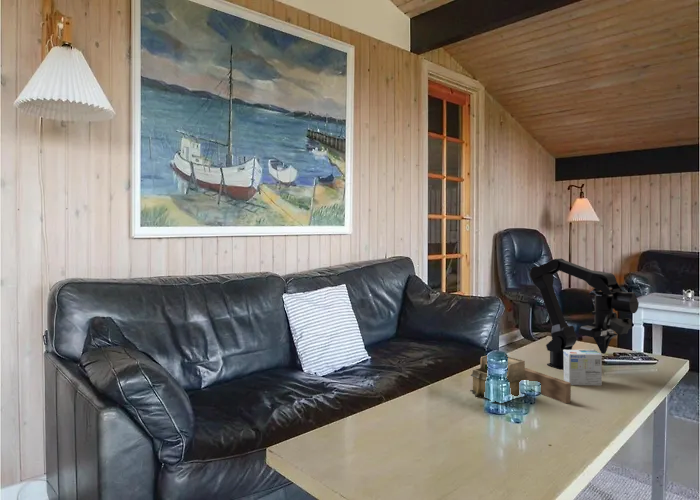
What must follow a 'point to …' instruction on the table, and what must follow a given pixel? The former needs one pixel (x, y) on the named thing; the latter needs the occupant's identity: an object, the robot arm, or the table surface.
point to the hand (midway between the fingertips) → (603, 353)
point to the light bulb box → (583, 367)
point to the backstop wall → (551, 386)
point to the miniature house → (514, 376)
